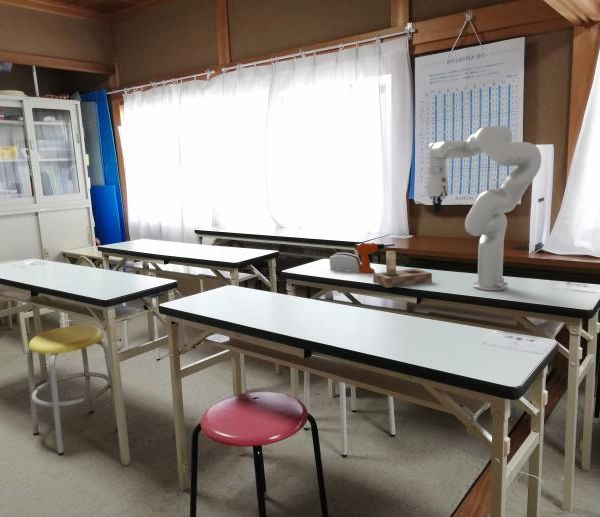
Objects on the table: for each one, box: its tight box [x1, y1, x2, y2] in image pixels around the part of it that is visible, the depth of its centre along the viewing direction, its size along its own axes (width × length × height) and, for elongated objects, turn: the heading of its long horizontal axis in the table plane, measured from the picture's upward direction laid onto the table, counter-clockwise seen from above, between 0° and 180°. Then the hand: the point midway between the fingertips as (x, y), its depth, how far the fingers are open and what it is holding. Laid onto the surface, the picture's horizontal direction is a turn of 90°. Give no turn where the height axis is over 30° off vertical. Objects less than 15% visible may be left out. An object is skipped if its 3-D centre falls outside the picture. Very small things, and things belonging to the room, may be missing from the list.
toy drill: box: [356, 242, 396, 274], centre depth 249 cm, size 5×19×15 cm, turn 77°
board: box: [372, 268, 433, 289], centre depth 228 cm, size 12×22×4 cm, turn 110°
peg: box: [385, 250, 397, 276], centre depth 225 cm, size 4×4×14 cm
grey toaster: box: [329, 252, 362, 272], centre depth 258 cm, size 17×5×10 cm, turn 57°
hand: (436, 212), depth 234 cm, fingers closed
